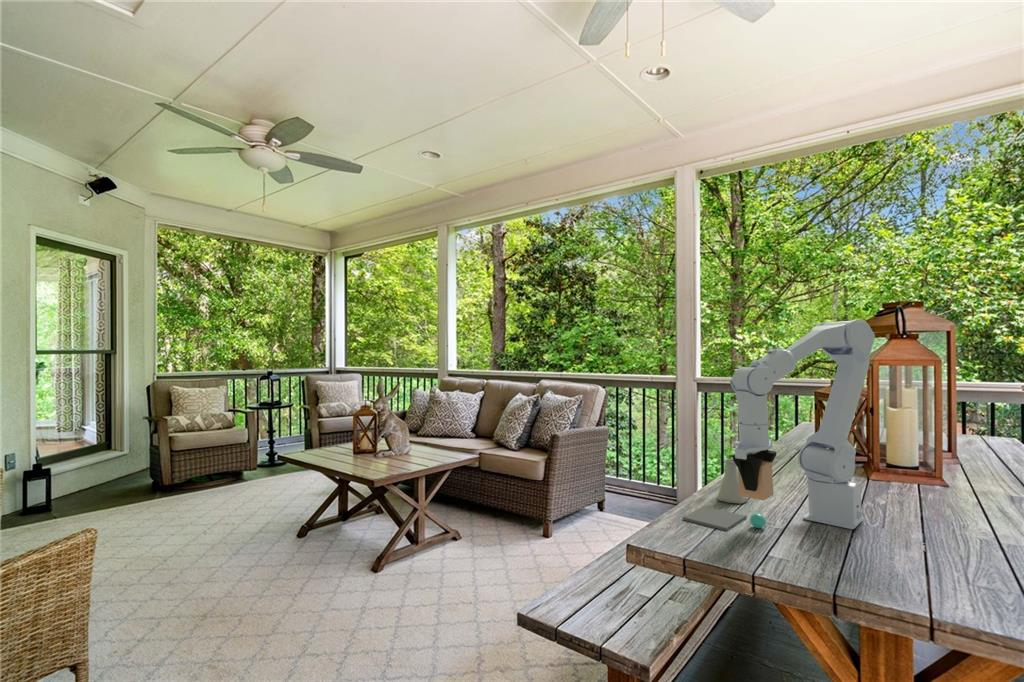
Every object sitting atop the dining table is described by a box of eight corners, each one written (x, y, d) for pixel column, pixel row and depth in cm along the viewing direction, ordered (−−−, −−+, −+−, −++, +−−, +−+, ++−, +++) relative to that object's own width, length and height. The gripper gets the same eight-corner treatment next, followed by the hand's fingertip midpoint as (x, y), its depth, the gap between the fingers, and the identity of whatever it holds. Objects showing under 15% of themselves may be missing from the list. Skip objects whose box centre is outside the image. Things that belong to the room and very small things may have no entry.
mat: (746, 518, 108) (746, 515, 108) (726, 530, 102) (726, 528, 102) (703, 508, 116) (703, 506, 116) (682, 519, 109) (682, 517, 109)
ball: (768, 527, 102) (767, 513, 103) (762, 531, 100) (762, 517, 101) (753, 524, 105) (753, 510, 105) (747, 528, 103) (747, 513, 103)
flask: (744, 506, 116) (742, 464, 117) (713, 501, 121) (711, 461, 121) (751, 498, 122) (749, 458, 122) (721, 494, 127) (719, 455, 127)
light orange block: (773, 494, 103) (771, 461, 103) (764, 500, 99) (762, 466, 99) (749, 490, 106) (747, 458, 106) (739, 495, 103) (737, 462, 103)
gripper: (748, 417, 111) (750, 477, 111) (719, 426, 101) (722, 491, 101) (781, 420, 106) (784, 482, 105) (754, 429, 96) (757, 497, 96)
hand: (756, 487), depth 103 cm, fingers closed on light orange block, 5 cm apart
